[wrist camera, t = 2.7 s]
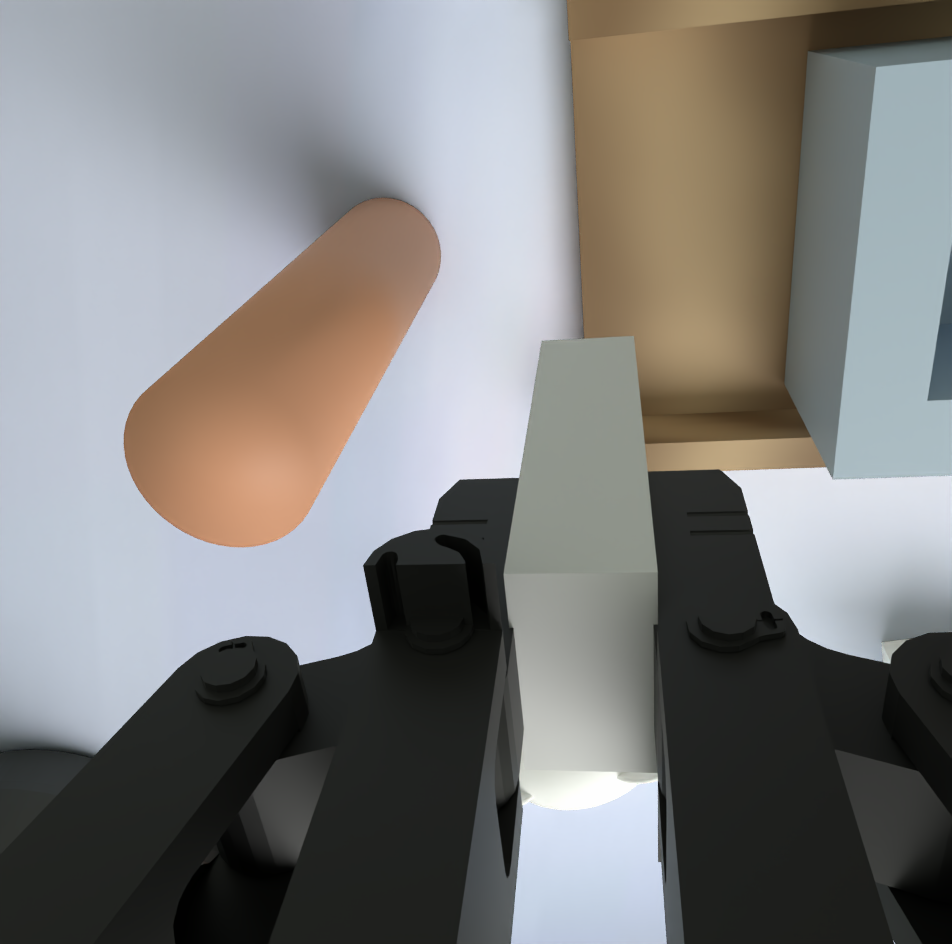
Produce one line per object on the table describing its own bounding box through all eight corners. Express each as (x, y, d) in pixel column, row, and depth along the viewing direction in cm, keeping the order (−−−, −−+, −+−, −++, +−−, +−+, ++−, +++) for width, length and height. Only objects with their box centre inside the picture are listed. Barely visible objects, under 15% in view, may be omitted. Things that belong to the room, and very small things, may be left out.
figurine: (644, 581, 32) (656, 709, 26) (697, 705, 34) (719, 847, 29) (449, 635, 34) (421, 764, 28) (512, 747, 37) (498, 887, 31)
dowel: (343, 309, 28) (155, 549, 16) (324, 202, 26) (97, 376, 14) (446, 302, 27) (334, 544, 15) (433, 193, 26) (295, 365, 14)
